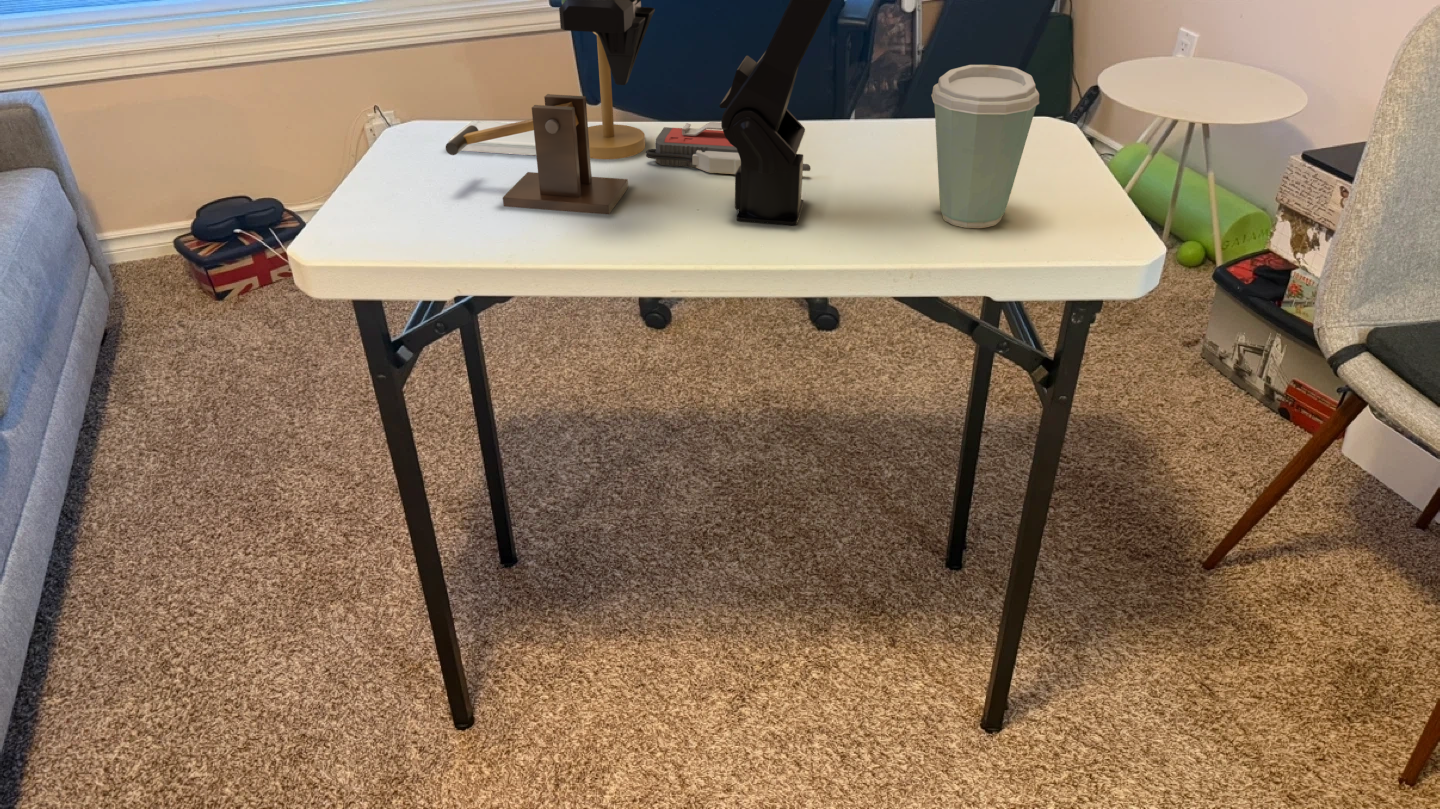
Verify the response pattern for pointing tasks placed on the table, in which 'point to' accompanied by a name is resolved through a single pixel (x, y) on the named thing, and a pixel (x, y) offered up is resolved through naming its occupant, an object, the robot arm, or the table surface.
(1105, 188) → the table surface
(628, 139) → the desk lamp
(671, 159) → the red boxy piece
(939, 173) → the disposable coffee cup
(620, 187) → the switch bracket
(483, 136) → the switch lever
